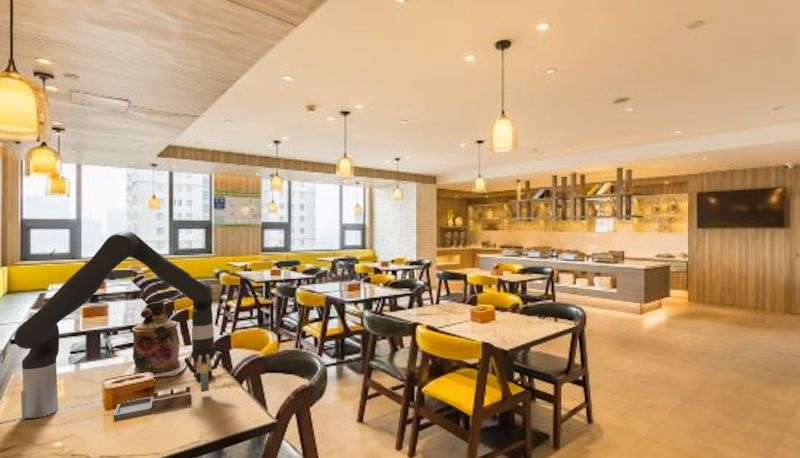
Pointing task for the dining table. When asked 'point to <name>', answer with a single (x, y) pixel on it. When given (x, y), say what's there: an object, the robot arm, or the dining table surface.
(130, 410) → the tray
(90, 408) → the dining table surface
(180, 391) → the chip
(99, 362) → the dining table surface
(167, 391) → the chip
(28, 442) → the dining table surface
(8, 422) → the dining table surface
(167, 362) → the cookie jar
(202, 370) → the scraper
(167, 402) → the slot block
